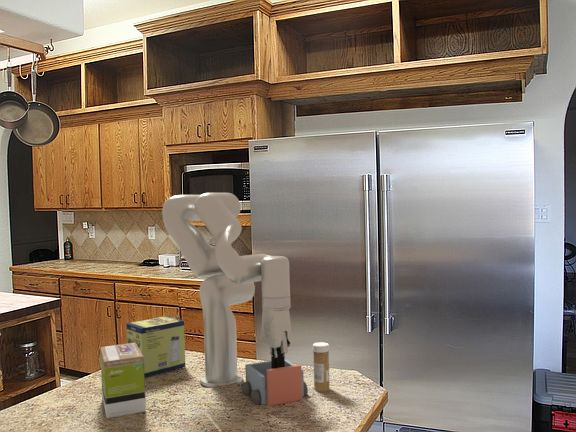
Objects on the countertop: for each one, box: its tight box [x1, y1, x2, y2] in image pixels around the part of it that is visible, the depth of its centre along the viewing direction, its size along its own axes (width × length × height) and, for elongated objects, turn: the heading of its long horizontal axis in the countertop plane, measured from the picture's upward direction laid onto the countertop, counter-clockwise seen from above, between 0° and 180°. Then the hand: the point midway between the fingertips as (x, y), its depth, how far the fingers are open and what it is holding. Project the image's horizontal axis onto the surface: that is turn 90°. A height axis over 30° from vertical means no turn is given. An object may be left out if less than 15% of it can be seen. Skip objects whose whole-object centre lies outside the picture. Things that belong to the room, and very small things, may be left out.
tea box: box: [99, 342, 147, 419], centre depth 140 cm, size 15×10×15 cm
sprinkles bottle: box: [312, 341, 330, 393], centre depth 147 cm, size 5×5×13 cm
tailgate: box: [266, 364, 303, 407], centre depth 138 cm, size 1×9×9 cm, turn 115°
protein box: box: [125, 315, 186, 379], centre depth 170 cm, size 10×16×16 cm
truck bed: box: [241, 358, 309, 406], centre depth 144 cm, size 12×15×8 cm
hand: (278, 370), depth 141 cm, fingers closed
